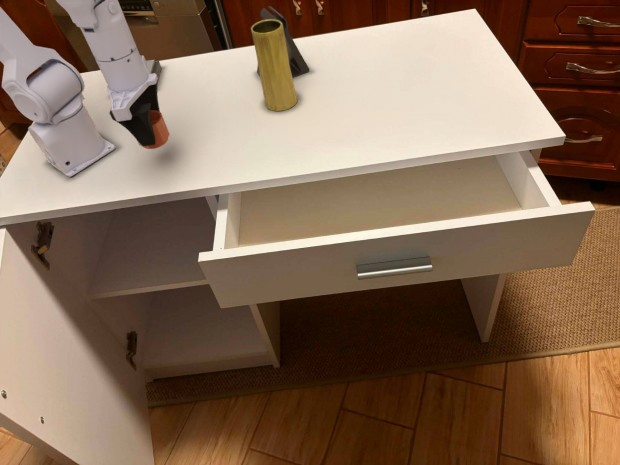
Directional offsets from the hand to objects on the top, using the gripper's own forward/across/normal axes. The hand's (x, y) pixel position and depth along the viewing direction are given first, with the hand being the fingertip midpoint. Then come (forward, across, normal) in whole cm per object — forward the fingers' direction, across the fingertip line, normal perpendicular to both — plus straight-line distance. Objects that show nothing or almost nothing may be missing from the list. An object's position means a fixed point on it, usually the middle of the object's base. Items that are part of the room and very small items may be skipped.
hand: (151, 133), depth 75 cm
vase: (+7, +14, -20) cm, 25 cm away
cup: (+1, 0, 0) cm, 1 cm away
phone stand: (+7, +24, -21) cm, 33 cm away
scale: (+6, +30, +10) cm, 32 cm away
